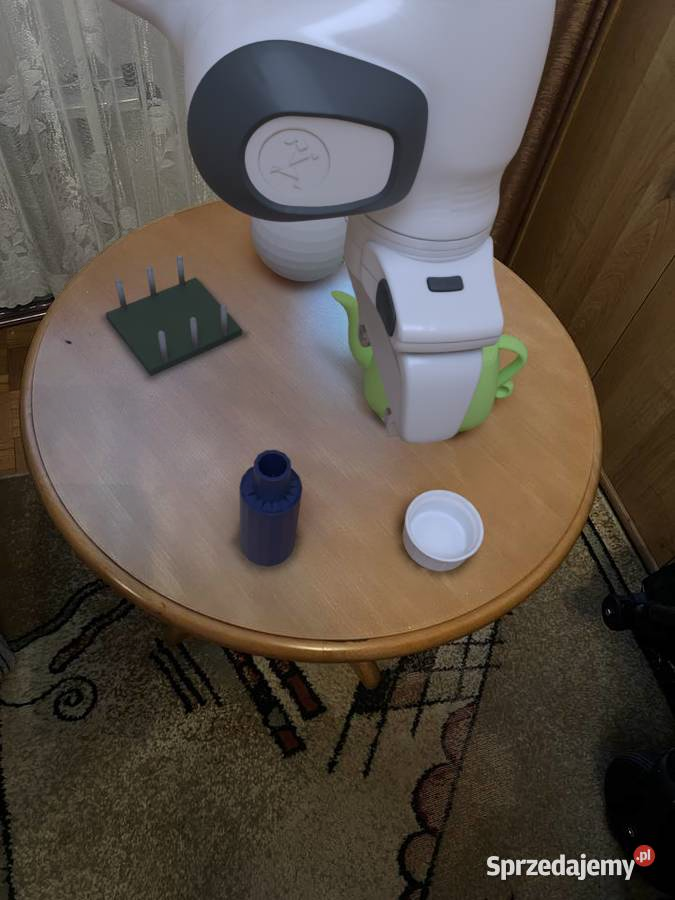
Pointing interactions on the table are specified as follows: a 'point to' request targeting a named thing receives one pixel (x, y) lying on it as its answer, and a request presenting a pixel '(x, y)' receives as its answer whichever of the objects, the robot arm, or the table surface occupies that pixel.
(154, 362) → the rack
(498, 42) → the robot arm
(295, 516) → the bottle
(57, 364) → the table surface
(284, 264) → the decorative object
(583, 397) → the table surface
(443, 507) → the ramekin
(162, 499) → the table surface
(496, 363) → the teapot
